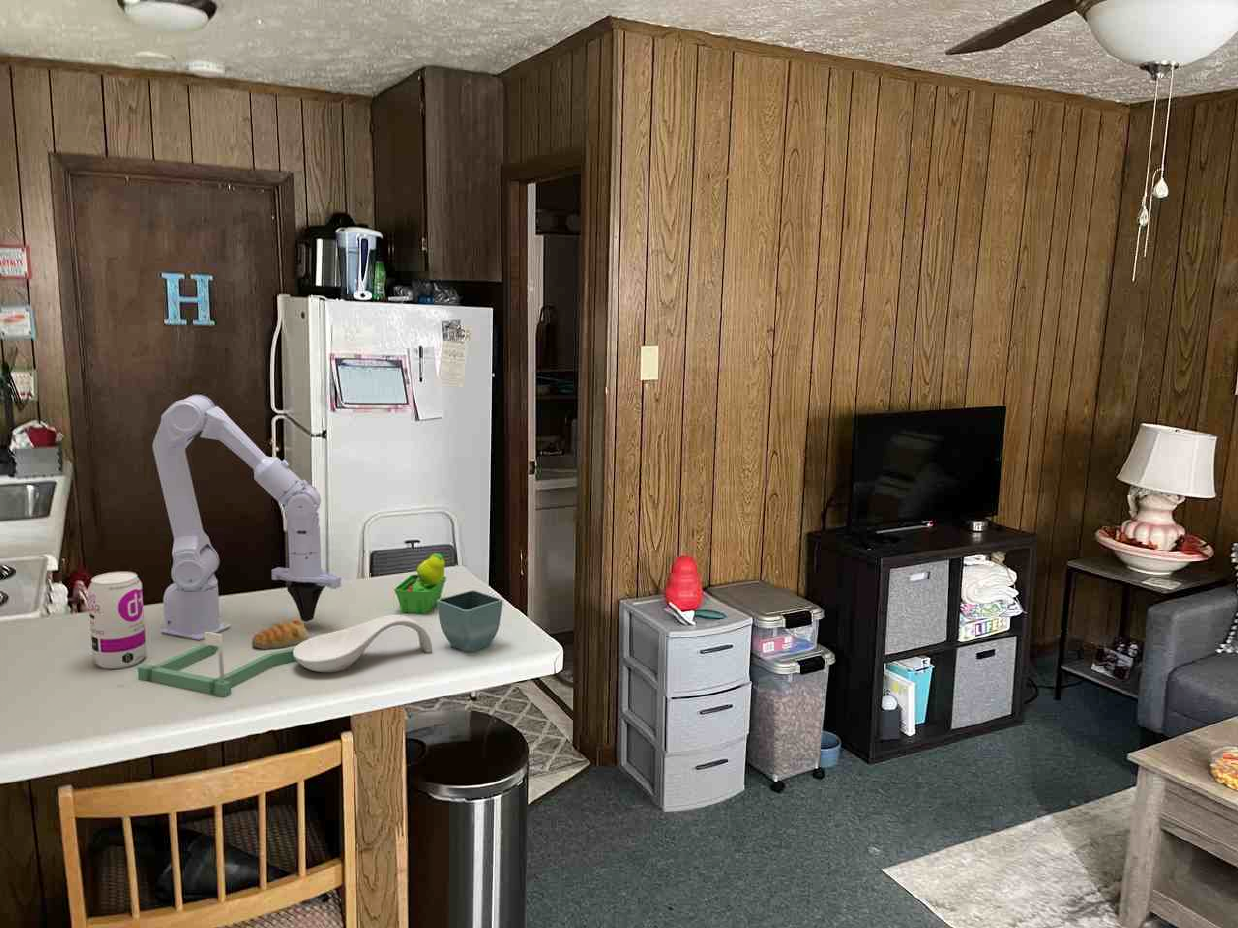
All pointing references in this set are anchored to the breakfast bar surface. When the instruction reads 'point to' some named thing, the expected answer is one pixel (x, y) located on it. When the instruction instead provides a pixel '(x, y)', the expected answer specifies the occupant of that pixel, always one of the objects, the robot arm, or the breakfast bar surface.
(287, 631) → the pastry
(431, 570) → the fruit basket
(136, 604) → the supplement can
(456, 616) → the flower pot
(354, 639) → the spoon rest
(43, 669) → the breakfast bar surface
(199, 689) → the green bars
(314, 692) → the breakfast bar surface
